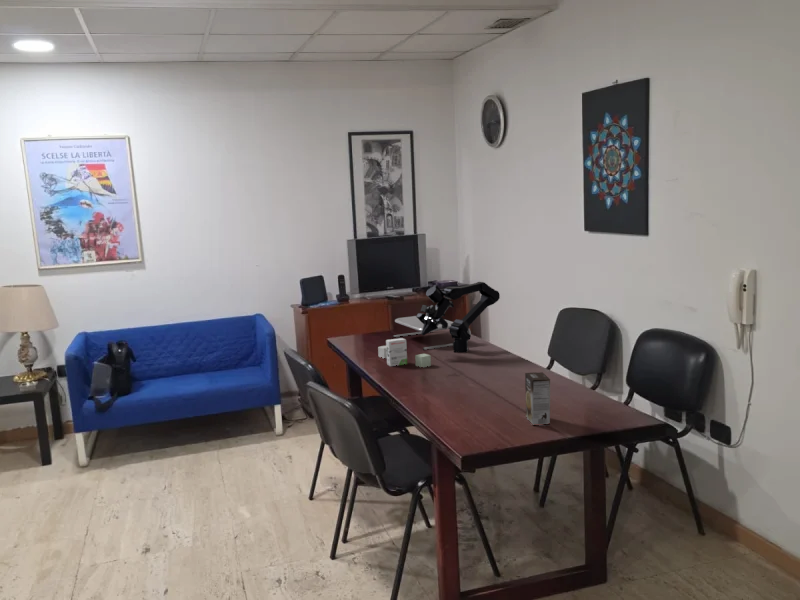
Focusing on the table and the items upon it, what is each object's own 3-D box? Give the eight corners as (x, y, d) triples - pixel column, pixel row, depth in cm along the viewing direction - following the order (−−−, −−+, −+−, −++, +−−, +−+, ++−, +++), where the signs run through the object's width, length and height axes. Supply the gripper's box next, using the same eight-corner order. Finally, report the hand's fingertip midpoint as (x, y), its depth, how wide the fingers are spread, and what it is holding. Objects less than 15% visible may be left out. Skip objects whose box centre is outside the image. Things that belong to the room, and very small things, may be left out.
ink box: (403, 362, 327) (402, 337, 325) (407, 364, 323) (406, 339, 321) (386, 364, 324) (385, 339, 322) (390, 366, 320) (389, 341, 318)
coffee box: (524, 417, 243) (524, 372, 241) (543, 416, 244) (542, 371, 241) (532, 426, 234) (531, 379, 232) (550, 425, 235) (550, 378, 232)
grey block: (387, 355, 342) (386, 345, 341) (392, 357, 338) (392, 347, 337) (378, 356, 339) (378, 346, 338) (384, 358, 335) (383, 348, 334)
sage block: (424, 364, 322) (424, 353, 322) (430, 366, 318) (430, 355, 317) (415, 365, 320) (415, 355, 319) (422, 367, 316) (421, 357, 315)
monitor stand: (392, 338, 382) (391, 318, 380) (437, 331, 394) (436, 313, 392) (423, 351, 349) (423, 329, 347) (471, 343, 361) (471, 323, 359)
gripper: (418, 296, 338) (400, 321, 333) (442, 300, 322) (424, 327, 318) (432, 310, 343) (414, 335, 339) (456, 315, 328) (438, 341, 324)
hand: (422, 334), depth 330 cm, fingers closed
